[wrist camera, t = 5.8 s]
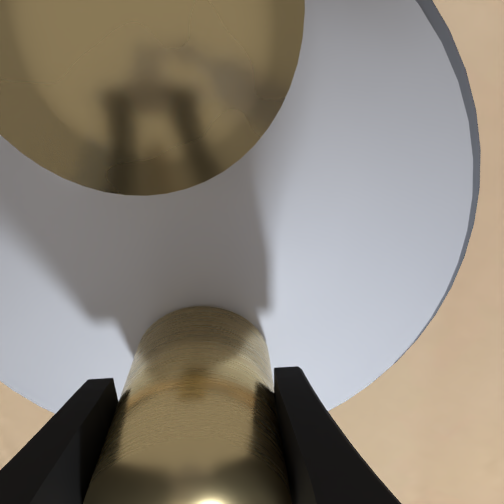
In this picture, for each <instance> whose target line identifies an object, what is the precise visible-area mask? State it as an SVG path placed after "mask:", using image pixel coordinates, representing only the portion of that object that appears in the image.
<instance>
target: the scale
mask: <svg viewBox="0 0 504 504" xmlns="http://www.w3.org/2000/svg"><path fill="white" fill-rule="evenodd" d="M479 188H480V142H479V133H478V124H477V114H476V108H475V104H474V100H473V96H472V93H471V89H470V85H469V81H468V77H467V73H466V69H465V67H464V64H463V62H462V60H461V57H460V55H459V52H458V50H457V47H456V45H455V42H454V40H453V37H452V35H451V33H450V30H449V28H448V27H447V25H446V23H445V21H444V20H443V18H442V16H441V15H440V13H439V11H438V10H437V8H436V6H435V5H434V3H433V1H432V0H305V16H304V28H303V39H302V44H301V49H300V54H299V59H298V64H297V67H296V70H295V73H294V77H293V80H292V83H291V86H290V89H289V91H288V93H287V95H286V97H285V100H284V102H283V104H282V106H281V108H280V110H279V112H278V113H277V115H276V117H275V118H274V120H273V121H272V123H271V125H270V126H269V128H268V129H267V130H266V132H265V133H264V134H263V135H262V137H261V138H260V139H259V140H258V142H257V143H256V144H255V145H254V146H253V147H252V148H251V149H250V150H249V151H248V152H247V153H246V154H245V155H244V156H243V157H242V158H241V159H240V160H238V161H237V162H236V163H234V164H233V165H232V166H230V167H229V168H228V169H226V170H225V171H224V172H222V173H220V174H218V175H216V176H215V177H213V178H211V179H209V180H207V181H205V182H203V183H200V184H198V185H195V186H193V187H190V188H187V189H184V190H180V191H175V192H171V193H167V194H158V195H148V196H138V195H121V194H114V193H107V192H102V191H99V190H95V189H91V188H88V187H84V186H81V185H79V184H76V183H74V182H71V181H69V180H66V179H64V178H62V177H60V176H58V175H56V174H54V173H52V172H50V171H49V170H47V169H45V168H43V167H41V166H40V165H38V164H37V163H35V162H34V161H32V160H31V159H30V158H28V157H27V156H25V155H24V154H22V153H21V152H20V151H19V150H17V149H16V148H15V147H14V146H13V145H11V144H10V143H9V142H8V141H7V140H6V139H4V138H3V137H2V136H1V135H0V381H1V382H3V383H4V384H5V385H7V386H8V387H9V388H11V389H12V390H13V391H15V392H17V393H18V394H20V395H22V396H23V397H25V398H27V399H28V400H30V401H32V402H33V403H35V404H37V405H38V406H40V407H42V408H44V409H47V410H49V411H51V412H53V413H55V414H56V413H57V412H58V410H59V409H60V408H61V407H62V406H63V405H64V404H65V403H66V402H67V401H68V400H69V399H70V398H71V397H72V395H73V394H74V393H75V392H76V391H77V390H78V389H79V388H80V387H81V386H82V385H83V384H84V383H85V382H86V381H87V380H88V379H101V378H113V379H114V384H115V388H116V393H117V397H118V402H119V399H120V396H121V393H122V390H123V388H124V385H125V382H126V379H127V376H128V373H129V371H130V368H131V365H132V362H133V359H134V356H135V354H136V351H137V348H138V345H139V342H140V340H141V338H142V336H143V335H144V334H145V332H146V331H147V329H148V328H149V327H150V326H151V325H152V324H153V323H155V322H156V321H157V320H158V319H160V318H162V317H163V316H165V315H167V314H169V313H171V312H174V311H176V310H180V309H183V308H188V307H196V306H209V307H217V308H222V309H225V310H229V311H231V312H234V313H236V314H238V315H240V316H242V317H244V318H245V319H247V320H248V321H249V322H251V323H252V324H253V325H254V326H255V327H256V328H257V329H258V331H259V332H260V333H261V335H262V336H263V338H264V340H265V342H266V345H267V347H268V352H269V358H270V364H271V371H272V377H273V384H274V368H278V367H294V366H298V367H300V368H301V369H302V370H303V372H304V374H305V376H306V378H307V379H308V381H309V383H310V385H311V386H312V388H313V389H314V391H315V393H316V394H317V396H318V397H319V399H320V400H321V402H322V404H323V405H324V407H325V408H326V410H327V411H329V410H331V409H332V408H334V407H336V406H338V405H340V404H342V403H343V402H345V401H347V400H348V399H350V398H351V397H353V396H354V395H355V394H357V393H358V392H360V391H361V390H363V389H364V388H366V387H367V386H368V385H370V384H371V383H372V382H374V381H375V380H376V379H377V378H378V377H379V376H380V375H382V374H383V373H384V372H385V371H386V370H387V369H389V368H390V367H391V366H392V365H393V364H394V363H396V362H397V361H398V359H399V358H400V357H401V356H402V355H403V354H404V353H405V352H406V351H407V350H408V349H409V348H410V347H411V346H412V344H413V343H414V342H415V341H416V340H417V339H418V337H419V336H420V335H421V333H422V332H423V331H424V329H425V328H426V327H427V325H428V324H429V323H430V321H431V320H432V319H433V317H434V316H435V315H436V313H437V311H438V309H439V308H440V306H441V304H442V302H443V301H444V299H445V297H446V295H447V294H448V292H449V290H450V289H451V287H452V284H453V282H454V280H455V277H456V275H457V273H458V270H459V268H460V266H461V263H462V261H463V259H464V256H465V253H466V249H467V246H468V242H469V239H470V235H471V232H472V228H473V225H474V220H475V213H476V207H477V201H478V194H479Z"/></svg>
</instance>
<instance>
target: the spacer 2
mask: <svg viewBox="0 0 504 504" xmlns="http://www.w3.org/2000/svg"><path fill="white" fill-rule="evenodd" d="M83 504H292V500H291V494H290V487H289V481H288V474H287V468H286V462H285V456H284V450H283V444H282V439H281V434H280V429H279V423H278V416H277V410H276V403H275V397H274V384H273V377H272V371H271V364H270V358H269V352H268V347H267V345H266V342H265V340H264V338H263V336H262V335H261V333H260V332H259V331H258V329H257V328H256V327H255V326H254V325H253V324H252V323H251V322H249V321H248V320H247V319H245V318H244V317H242V316H240V315H238V314H236V313H234V312H231V311H229V310H225V309H222V308H217V307H209V306H196V307H188V308H183V309H180V310H176V311H174V312H171V313H169V314H167V315H165V316H163V317H162V318H160V319H158V320H157V321H156V322H155V323H153V324H152V325H151V326H150V327H149V328H148V329H147V331H146V332H145V334H144V335H143V336H142V338H141V340H140V342H139V345H138V348H137V351H136V354H135V356H134V359H133V362H132V365H131V368H130V371H129V373H128V376H127V379H126V382H125V385H124V388H123V390H122V393H121V396H120V399H119V402H118V405H117V408H116V410H115V413H114V416H113V419H112V422H111V425H110V427H109V430H108V433H107V436H106V439H105V442H104V445H103V447H102V450H101V453H100V456H99V459H98V462H97V464H96V467H95V470H94V473H93V476H92V479H91V481H90V484H89V487H88V490H87V493H86V496H85V499H84V502H83Z"/></svg>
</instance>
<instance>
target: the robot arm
mask: <svg viewBox="0 0 504 504" xmlns="http://www.w3.org/2000/svg"><path fill="white" fill-rule="evenodd" d="M274 397H275V403H276V410H277V416H278V423H279V429H280V434H281V439H282V444H283V450H284V456H285V462H286V468H287V474H288V481H289V487H290V494H291V500H292V504H401V503H400V502H399V500H398V499H397V498H396V497H395V496H394V495H393V494H392V493H391V491H390V490H389V489H388V488H387V487H386V486H385V485H384V483H383V482H382V481H381V480H380V479H379V478H378V476H377V475H376V474H375V473H374V472H373V470H372V469H371V468H370V467H369V465H368V464H367V463H366V462H365V461H364V459H363V458H362V457H361V456H360V454H359V453H358V452H357V451H356V449H355V448H354V447H353V445H352V444H351V443H350V442H349V440H348V439H347V437H346V436H345V435H344V433H343V432H342V431H341V429H340V428H339V427H338V425H337V424H336V422H335V421H334V420H333V418H332V417H331V415H330V414H329V412H328V411H327V410H326V408H325V407H324V405H323V404H322V402H321V400H320V399H319V397H318V396H317V394H316V393H315V391H314V389H313V388H312V386H311V385H310V383H309V381H308V379H307V378H306V376H305V374H304V372H303V370H302V369H301V368H300V367H298V366H294V367H278V368H274ZM117 405H118V397H117V393H116V388H115V384H114V379H113V378H101V379H88V380H87V381H86V382H85V383H84V384H83V385H82V386H81V387H80V388H79V389H78V390H77V391H76V392H75V393H74V394H73V395H72V397H71V398H70V399H69V400H68V401H67V402H66V403H65V404H64V405H63V406H62V407H61V408H60V409H59V410H58V412H57V413H56V414H55V415H54V416H53V417H52V418H51V419H50V420H49V421H48V422H47V423H46V424H45V425H44V426H43V427H42V429H41V430H40V431H39V432H38V433H37V434H36V435H35V436H34V437H33V438H32V439H31V440H30V441H29V442H28V443H27V444H26V445H25V446H24V447H23V448H22V449H21V450H20V451H19V452H18V453H17V454H16V455H15V456H14V457H13V458H12V459H11V460H10V461H9V462H8V463H7V464H6V465H5V466H4V467H3V468H2V469H1V470H0V504H83V502H84V499H85V496H86V493H87V490H88V487H89V484H90V481H91V479H92V476H93V473H94V470H95V467H96V464H97V462H98V459H99V456H100V453H101V450H102V447H103V445H104V442H105V439H106V436H107V433H108V430H109V427H110V425H111V422H112V419H113V416H114V413H115V410H116V408H117Z"/></svg>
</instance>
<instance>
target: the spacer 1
mask: <svg viewBox="0 0 504 504" xmlns="http://www.w3.org/2000/svg"><path fill="white" fill-rule="evenodd" d="M304 16H305V0H0V135H1V136H2V137H3V138H4V139H6V140H7V141H8V142H9V143H10V144H11V145H13V146H14V147H15V148H16V149H17V150H19V151H20V152H21V153H22V154H24V155H25V156H27V157H28V158H30V159H31V160H32V161H34V162H35V163H37V164H38V165H40V166H41V167H43V168H45V169H47V170H49V171H50V172H52V173H54V174H56V175H58V176H60V177H62V178H64V179H66V180H69V181H71V182H74V183H76V184H79V185H81V186H84V187H88V188H91V189H95V190H99V191H102V192H107V193H114V194H121V195H138V196H148V195H158V194H167V193H171V192H175V191H180V190H184V189H187V188H190V187H193V186H195V185H198V184H200V183H203V182H205V181H207V180H209V179H211V178H213V177H215V176H216V175H218V174H220V173H222V172H224V171H225V170H226V169H228V168H229V167H230V166H232V165H233V164H234V163H236V162H237V161H238V160H240V159H241V158H242V157H243V156H244V155H245V154H246V153H247V152H248V151H249V150H250V149H251V148H252V147H253V146H254V145H255V144H256V143H257V142H258V140H259V139H260V138H261V137H262V135H263V134H264V133H265V132H266V130H267V129H268V128H269V126H270V125H271V123H272V121H273V120H274V118H275V117H276V115H277V113H278V112H279V110H280V108H281V106H282V104H283V102H284V100H285V97H286V95H287V93H288V91H289V89H290V86H291V83H292V80H293V77H294V73H295V70H296V67H297V64H298V59H299V54H300V49H301V44H302V39H303V28H304Z"/></svg>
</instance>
